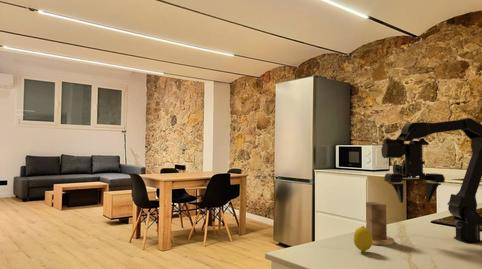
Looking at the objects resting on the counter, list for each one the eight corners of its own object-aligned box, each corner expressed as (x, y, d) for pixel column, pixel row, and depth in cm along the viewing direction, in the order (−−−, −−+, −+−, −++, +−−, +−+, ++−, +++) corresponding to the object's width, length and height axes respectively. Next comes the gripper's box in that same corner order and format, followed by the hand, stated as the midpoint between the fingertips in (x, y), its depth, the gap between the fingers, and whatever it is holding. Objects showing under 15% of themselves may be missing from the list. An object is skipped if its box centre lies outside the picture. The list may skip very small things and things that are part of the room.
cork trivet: (384, 236, 127) (384, 234, 127) (400, 245, 116) (400, 242, 116) (354, 237, 126) (354, 234, 126) (368, 245, 115) (368, 242, 115)
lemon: (374, 255, 105) (373, 228, 105) (354, 254, 106) (354, 227, 106) (371, 250, 110) (370, 224, 111) (352, 249, 112) (352, 223, 112)
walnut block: (380, 236, 124) (380, 202, 124) (386, 240, 119) (386, 204, 119) (366, 236, 123) (366, 202, 124) (372, 240, 118) (371, 204, 119)
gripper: (427, 157, 131) (428, 199, 131) (378, 157, 131) (378, 199, 131) (445, 158, 120) (446, 204, 120) (391, 158, 120) (391, 204, 119)
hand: (414, 202), depth 123 cm, fingers open, 9 cm apart
